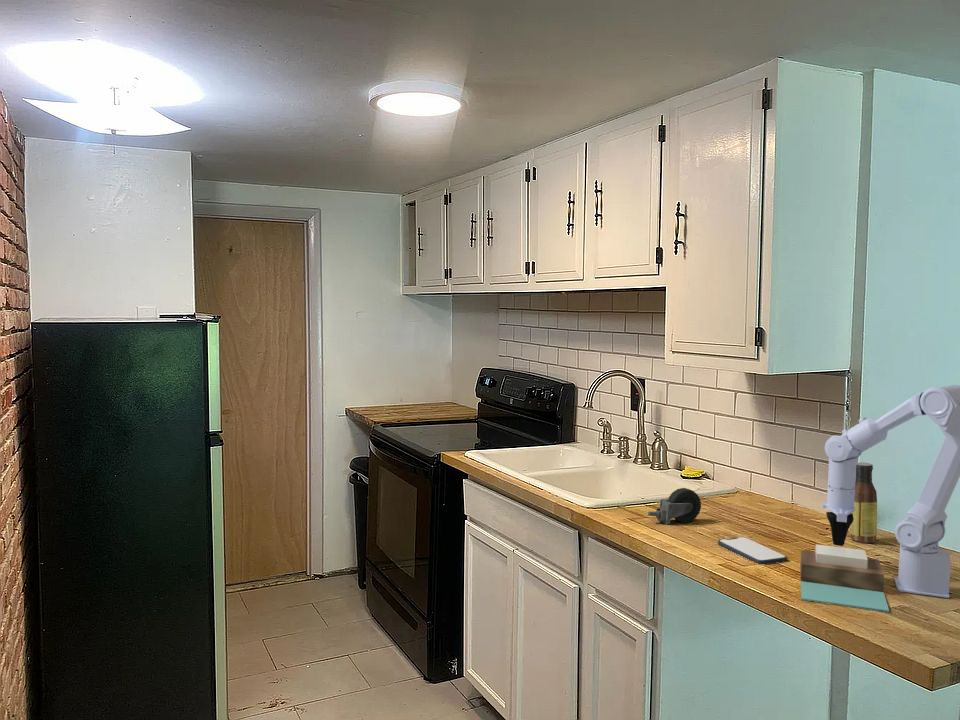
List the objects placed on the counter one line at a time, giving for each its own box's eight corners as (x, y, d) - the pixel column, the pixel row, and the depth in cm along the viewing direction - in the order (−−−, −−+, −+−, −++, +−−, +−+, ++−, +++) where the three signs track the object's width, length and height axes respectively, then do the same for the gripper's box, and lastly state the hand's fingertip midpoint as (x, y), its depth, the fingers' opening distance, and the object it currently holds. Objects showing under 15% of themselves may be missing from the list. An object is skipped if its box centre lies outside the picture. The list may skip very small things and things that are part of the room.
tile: (864, 558, 174) (864, 550, 174) (867, 568, 168) (867, 559, 167) (815, 553, 178) (815, 544, 178) (816, 562, 171) (816, 553, 171)
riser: (877, 577, 174) (878, 559, 174) (883, 593, 164) (884, 574, 164) (800, 566, 180) (801, 550, 180) (800, 582, 170) (801, 564, 170)
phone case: (789, 563, 184) (743, 542, 199) (790, 557, 184) (744, 536, 199) (759, 568, 181) (715, 545, 196) (759, 561, 181) (715, 539, 196)
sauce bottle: (879, 540, 201) (883, 464, 199) (871, 545, 196) (876, 467, 195) (852, 534, 206) (856, 460, 204) (844, 540, 201) (848, 463, 199)
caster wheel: (691, 520, 220) (642, 518, 216) (695, 487, 219) (647, 484, 216) (702, 526, 214) (652, 524, 211) (706, 492, 214) (656, 489, 210)
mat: (883, 594, 164) (883, 592, 164) (889, 612, 154) (889, 610, 154) (800, 582, 170) (800, 581, 170) (801, 600, 160) (801, 598, 160)
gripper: (821, 478, 189) (818, 533, 190) (823, 492, 175) (820, 551, 176) (853, 481, 186) (850, 537, 187) (858, 495, 173) (855, 555, 174)
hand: (838, 544), depth 181 cm, fingers closed
